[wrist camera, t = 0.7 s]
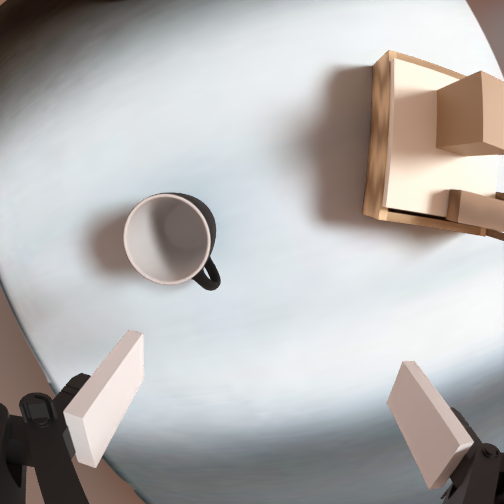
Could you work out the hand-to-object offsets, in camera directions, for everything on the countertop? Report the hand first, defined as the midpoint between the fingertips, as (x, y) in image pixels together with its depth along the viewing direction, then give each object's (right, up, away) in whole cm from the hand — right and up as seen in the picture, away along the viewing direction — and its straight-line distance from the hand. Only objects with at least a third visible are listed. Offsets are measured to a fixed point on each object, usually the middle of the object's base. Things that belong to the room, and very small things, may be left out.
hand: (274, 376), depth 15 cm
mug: (-8, +8, +26) cm, 28 cm away
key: (+26, +11, +16) cm, 33 cm away
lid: (+22, +18, +16) cm, 33 cm away
